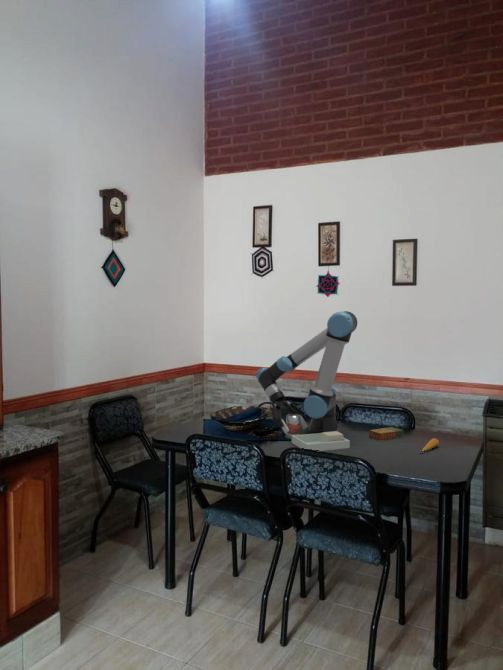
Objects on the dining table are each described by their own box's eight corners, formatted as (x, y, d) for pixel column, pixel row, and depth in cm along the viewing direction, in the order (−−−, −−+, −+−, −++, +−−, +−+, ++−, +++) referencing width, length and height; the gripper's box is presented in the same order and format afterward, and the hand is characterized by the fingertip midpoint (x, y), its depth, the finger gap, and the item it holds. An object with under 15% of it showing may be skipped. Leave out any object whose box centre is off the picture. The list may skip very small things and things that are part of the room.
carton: (368, 438, 278) (368, 429, 278) (391, 434, 287) (391, 426, 286) (380, 441, 271) (380, 433, 271) (403, 437, 280) (403, 429, 279)
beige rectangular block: (336, 443, 262) (336, 431, 262) (342, 446, 257) (343, 434, 256) (321, 444, 259) (321, 432, 259) (327, 448, 254) (328, 435, 253)
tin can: (296, 436, 277) (296, 413, 276) (302, 440, 270) (303, 416, 269) (283, 437, 274) (283, 414, 273) (289, 441, 268) (290, 417, 267)
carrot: (433, 447, 266) (429, 438, 266) (441, 445, 263) (438, 436, 263) (415, 460, 251) (412, 451, 251) (424, 458, 248) (420, 449, 248)
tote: (332, 441, 270) (332, 432, 270) (349, 450, 255) (349, 440, 255) (291, 444, 262) (291, 435, 262) (306, 454, 247) (307, 444, 247)
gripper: (288, 396, 290) (309, 429, 281) (253, 402, 273) (274, 438, 264) (295, 387, 286) (317, 421, 276) (261, 393, 269) (283, 429, 259)
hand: (296, 429), depth 270 cm, fingers open, 13 cm apart
